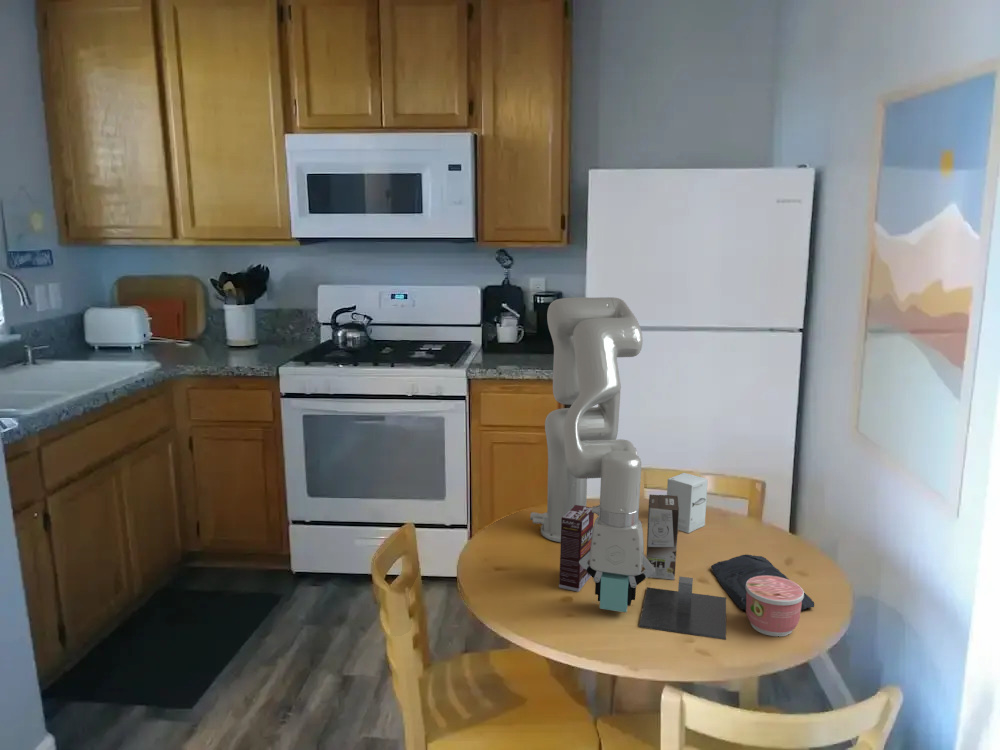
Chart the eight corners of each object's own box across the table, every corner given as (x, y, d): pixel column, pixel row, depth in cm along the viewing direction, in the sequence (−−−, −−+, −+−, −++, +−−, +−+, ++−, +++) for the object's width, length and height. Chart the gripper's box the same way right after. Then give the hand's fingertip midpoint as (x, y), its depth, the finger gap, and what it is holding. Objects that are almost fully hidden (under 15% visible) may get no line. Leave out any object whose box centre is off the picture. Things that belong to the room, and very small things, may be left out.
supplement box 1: (579, 593, 164) (581, 521, 161) (558, 588, 166) (559, 517, 163) (593, 575, 172) (595, 507, 168) (572, 571, 174) (573, 503, 170)
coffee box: (675, 580, 170) (679, 510, 166) (645, 577, 171) (648, 507, 167) (675, 562, 178) (678, 495, 175) (646, 559, 180) (649, 492, 176)
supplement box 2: (689, 534, 194) (691, 485, 191) (664, 525, 199) (666, 477, 197) (705, 526, 199) (708, 478, 196) (681, 517, 204) (683, 471, 201)
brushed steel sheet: (639, 627, 151) (640, 593, 149) (647, 589, 166) (648, 558, 164) (725, 639, 146) (728, 604, 145) (725, 599, 161) (728, 567, 160)
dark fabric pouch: (771, 564, 177) (773, 545, 176) (819, 613, 156) (821, 591, 155) (705, 566, 176) (707, 547, 175) (744, 616, 154) (746, 593, 153)
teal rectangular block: (599, 608, 154) (601, 576, 153) (603, 595, 159) (605, 564, 158) (626, 612, 153) (627, 580, 151) (629, 599, 158) (631, 568, 156)
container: (737, 611, 157) (739, 574, 155) (790, 613, 156) (794, 575, 154) (750, 639, 146) (753, 600, 145) (808, 641, 146) (811, 602, 144)
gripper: (571, 517, 150) (568, 603, 155) (662, 528, 146) (656, 616, 150) (578, 502, 157) (575, 585, 162) (665, 512, 153) (660, 597, 157)
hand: (614, 599), depth 156 cm, fingers closed on teal rectangular block, 5 cm apart
